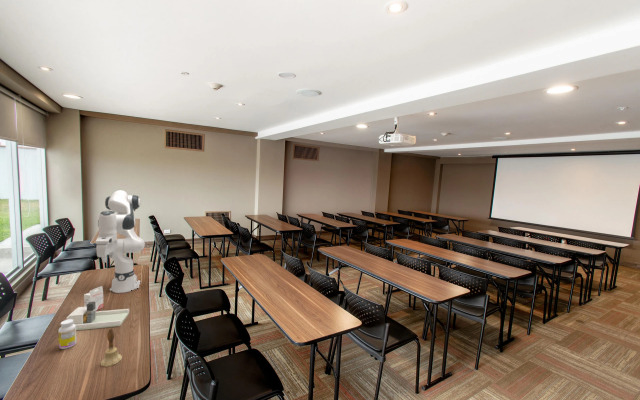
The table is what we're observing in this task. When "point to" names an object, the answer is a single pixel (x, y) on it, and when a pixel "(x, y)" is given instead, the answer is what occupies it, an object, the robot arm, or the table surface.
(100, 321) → the tray
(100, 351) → the table surface
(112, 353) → the hand bell
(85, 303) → the ink cartridge box
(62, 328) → the supplement bottle
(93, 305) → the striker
